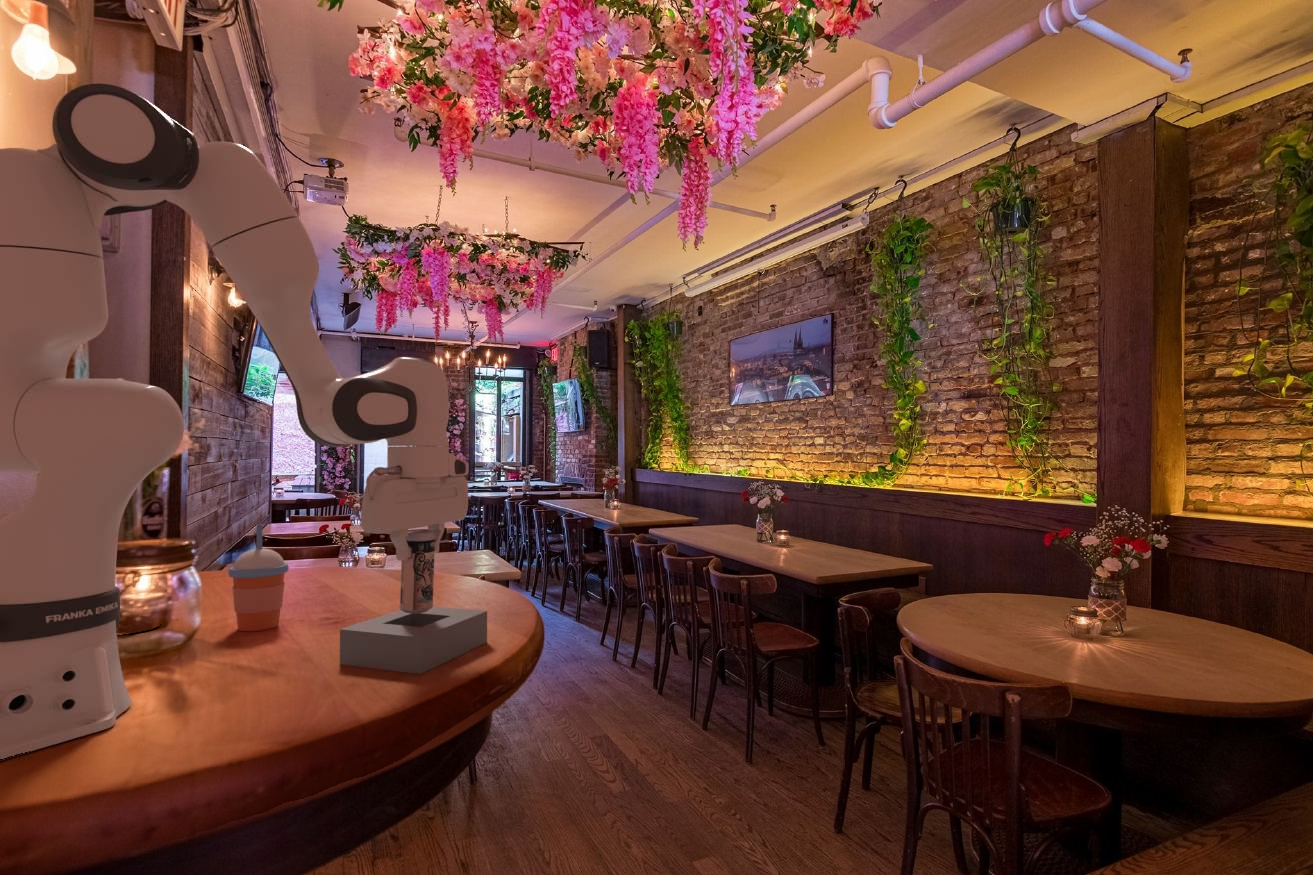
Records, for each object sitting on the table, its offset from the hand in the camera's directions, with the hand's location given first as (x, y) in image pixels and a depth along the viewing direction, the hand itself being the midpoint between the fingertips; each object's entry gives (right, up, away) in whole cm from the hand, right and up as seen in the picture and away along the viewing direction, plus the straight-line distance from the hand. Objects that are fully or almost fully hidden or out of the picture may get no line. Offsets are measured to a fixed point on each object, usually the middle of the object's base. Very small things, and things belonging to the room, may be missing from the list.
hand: (418, 556), depth 100 cm
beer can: (0, -8, 0) cm, 8 cm away
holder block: (0, -15, 0) cm, 15 cm away
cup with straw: (-34, -16, +15) cm, 40 cm away
